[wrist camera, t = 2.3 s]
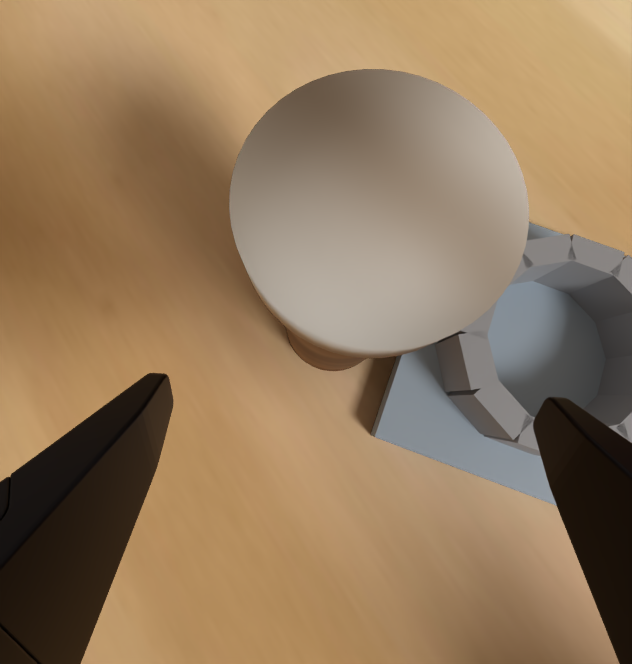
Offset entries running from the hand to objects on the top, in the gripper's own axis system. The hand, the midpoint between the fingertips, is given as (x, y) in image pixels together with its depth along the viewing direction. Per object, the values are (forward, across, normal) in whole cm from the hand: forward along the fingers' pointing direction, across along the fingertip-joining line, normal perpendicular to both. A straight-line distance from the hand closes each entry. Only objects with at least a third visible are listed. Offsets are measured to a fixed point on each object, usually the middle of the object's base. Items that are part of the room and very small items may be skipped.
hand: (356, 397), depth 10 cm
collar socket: (+10, -10, +6) cm, 15 cm away
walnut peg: (+10, 0, +5) cm, 11 cm away
